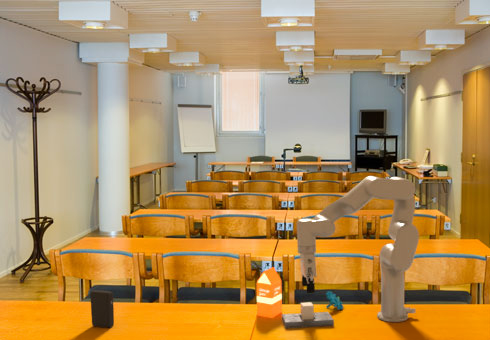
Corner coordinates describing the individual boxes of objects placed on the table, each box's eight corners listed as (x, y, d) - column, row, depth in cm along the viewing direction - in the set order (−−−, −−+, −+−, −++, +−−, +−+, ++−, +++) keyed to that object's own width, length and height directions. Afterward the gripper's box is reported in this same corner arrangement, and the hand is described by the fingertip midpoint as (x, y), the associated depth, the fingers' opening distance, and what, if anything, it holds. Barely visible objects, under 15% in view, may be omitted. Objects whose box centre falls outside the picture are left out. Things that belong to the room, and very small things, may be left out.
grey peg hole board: (328, 317, 257) (327, 311, 257) (333, 325, 248) (333, 319, 247) (281, 320, 256) (281, 314, 255) (285, 328, 246) (285, 322, 245)
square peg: (311, 320, 254) (311, 302, 253) (313, 324, 250) (313, 305, 249) (300, 321, 254) (300, 302, 253) (303, 325, 249) (302, 306, 248)
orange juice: (282, 312, 266) (281, 267, 264) (272, 318, 258) (271, 272, 256) (266, 309, 270) (266, 265, 268) (256, 315, 263) (255, 270, 261)
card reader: (115, 325, 253) (114, 290, 251) (110, 328, 249) (108, 293, 248) (96, 323, 256) (95, 289, 254) (91, 326, 252) (89, 291, 251)
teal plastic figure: (339, 309, 262) (325, 291, 266) (330, 318, 264) (315, 299, 268) (348, 305, 272) (333, 288, 276) (338, 314, 274) (324, 296, 277)
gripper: (320, 252, 240) (321, 294, 242) (311, 243, 258) (312, 282, 259) (301, 254, 240) (303, 296, 241) (294, 244, 257) (295, 284, 259)
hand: (308, 289), depth 250 cm, fingers open, 9 cm apart
